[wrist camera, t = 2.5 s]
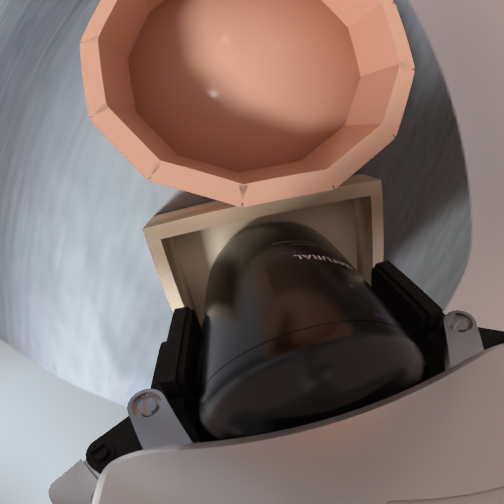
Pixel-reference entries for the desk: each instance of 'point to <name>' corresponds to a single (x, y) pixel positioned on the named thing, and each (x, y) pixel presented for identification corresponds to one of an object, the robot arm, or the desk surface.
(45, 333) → the desk surface
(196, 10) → the bowl
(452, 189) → the desk surface
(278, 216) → the tray
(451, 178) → the desk surface
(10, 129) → the desk surface
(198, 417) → the supplement bottle
